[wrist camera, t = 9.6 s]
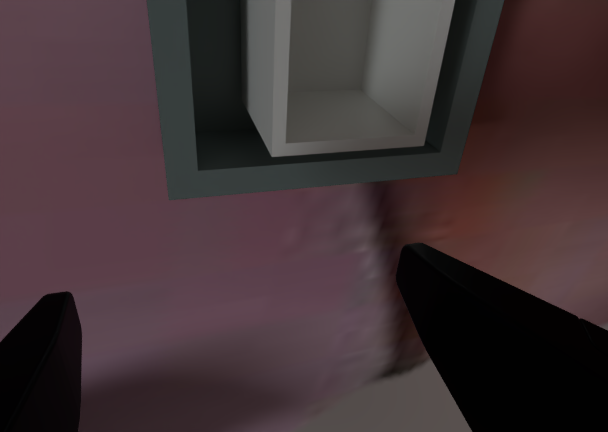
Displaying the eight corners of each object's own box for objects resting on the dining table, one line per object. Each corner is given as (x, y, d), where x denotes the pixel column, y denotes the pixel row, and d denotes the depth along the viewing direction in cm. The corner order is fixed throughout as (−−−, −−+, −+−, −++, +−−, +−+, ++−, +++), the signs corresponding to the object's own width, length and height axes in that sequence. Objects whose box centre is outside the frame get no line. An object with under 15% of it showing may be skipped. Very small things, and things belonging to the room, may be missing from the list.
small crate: (363, 94, 19) (423, 145, 15) (241, 99, 18) (271, 157, 14) (389, -98, 15) (476, -98, 11) (238, -110, 14) (278, -116, 10)
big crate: (409, 134, 22) (457, 174, 18) (163, 149, 19) (169, 200, 15) (471, -172, 16) (556, -193, 12) (122, -222, 13) (117, -266, 9)
